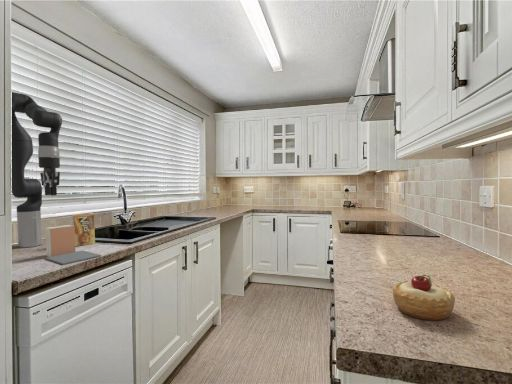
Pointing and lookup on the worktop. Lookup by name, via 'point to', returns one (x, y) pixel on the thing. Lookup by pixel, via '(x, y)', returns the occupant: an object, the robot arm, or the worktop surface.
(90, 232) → the candy box
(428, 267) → the worktop surface
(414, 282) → the pastry
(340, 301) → the worktop surface
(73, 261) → the mat
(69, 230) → the tan block
